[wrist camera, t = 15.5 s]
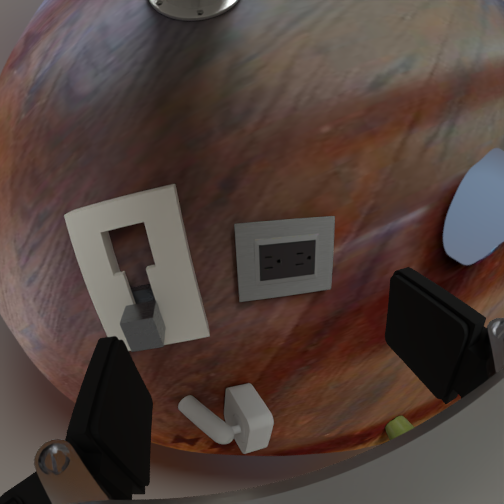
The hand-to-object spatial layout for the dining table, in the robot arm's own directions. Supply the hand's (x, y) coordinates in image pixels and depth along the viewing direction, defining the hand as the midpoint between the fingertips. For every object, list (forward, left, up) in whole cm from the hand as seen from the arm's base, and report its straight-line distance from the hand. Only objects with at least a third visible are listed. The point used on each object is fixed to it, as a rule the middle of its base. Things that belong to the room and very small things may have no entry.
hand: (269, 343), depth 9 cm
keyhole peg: (+11, -11, -28) cm, 32 cm away
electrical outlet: (+9, +8, -29) cm, 31 cm away
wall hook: (+33, -6, -29) cm, 44 cm away
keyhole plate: (+7, -11, -28) cm, 31 cm away
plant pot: (+65, +35, -28) cm, 79 cm away
